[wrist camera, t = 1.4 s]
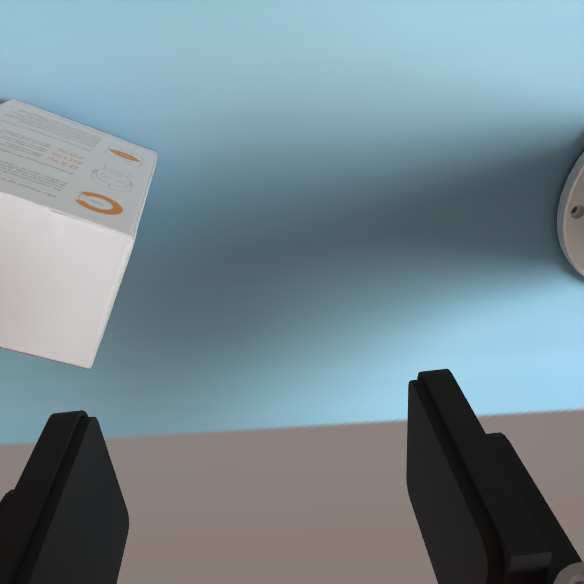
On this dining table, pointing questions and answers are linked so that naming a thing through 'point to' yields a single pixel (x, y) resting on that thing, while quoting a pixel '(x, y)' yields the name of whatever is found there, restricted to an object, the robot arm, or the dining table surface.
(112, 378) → the dining table surface
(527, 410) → the dining table surface
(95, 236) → the small box
